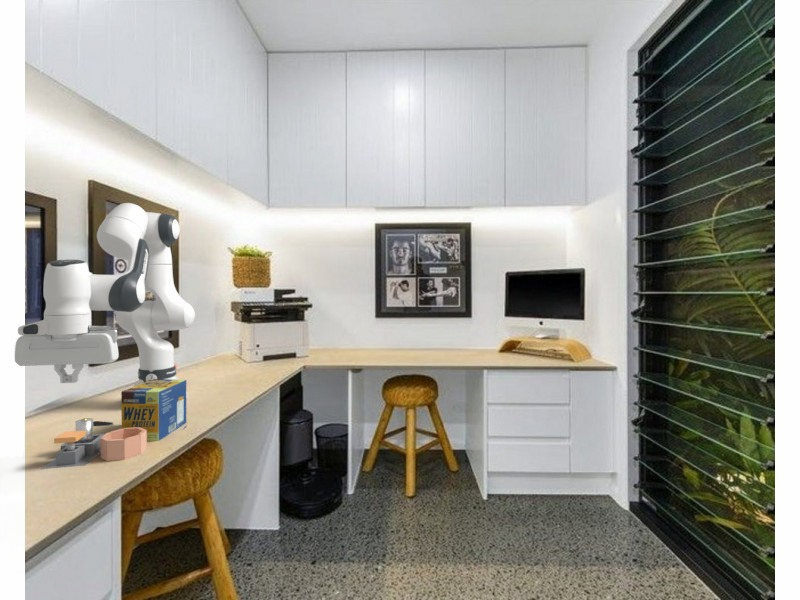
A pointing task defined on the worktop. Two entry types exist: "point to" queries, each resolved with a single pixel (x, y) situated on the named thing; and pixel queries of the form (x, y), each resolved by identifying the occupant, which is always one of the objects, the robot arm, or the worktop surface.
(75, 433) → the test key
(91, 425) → the cell
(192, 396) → the worktop surface
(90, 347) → the robot arm
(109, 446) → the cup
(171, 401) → the protein box
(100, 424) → the phone
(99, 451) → the gray square socket tray
